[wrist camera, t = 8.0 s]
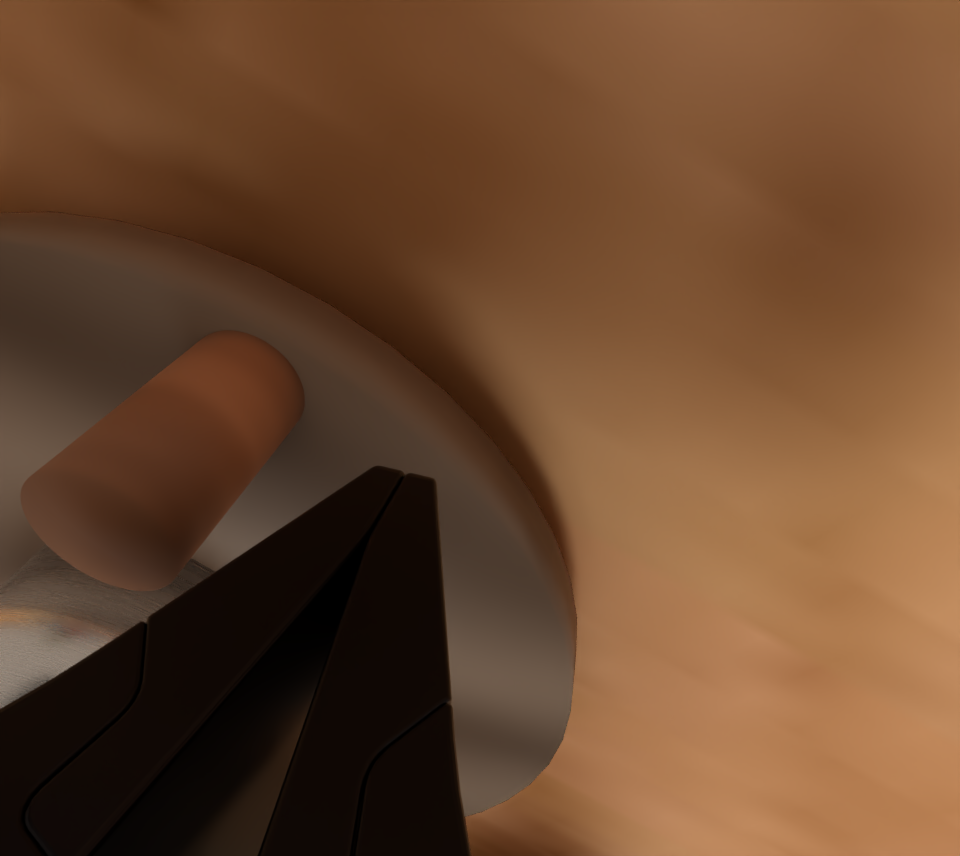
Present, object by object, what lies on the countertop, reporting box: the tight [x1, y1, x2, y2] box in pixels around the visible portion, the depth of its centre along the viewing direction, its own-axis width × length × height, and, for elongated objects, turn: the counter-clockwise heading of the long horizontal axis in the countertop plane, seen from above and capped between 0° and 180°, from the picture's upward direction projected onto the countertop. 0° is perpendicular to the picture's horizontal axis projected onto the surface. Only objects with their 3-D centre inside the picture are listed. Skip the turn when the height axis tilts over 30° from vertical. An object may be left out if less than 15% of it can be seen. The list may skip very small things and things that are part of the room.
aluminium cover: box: [0, 544, 215, 709], centre depth 13 cm, size 7×7×6 cm
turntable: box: [0, 212, 577, 817], centre depth 15 cm, size 20×20×5 cm
